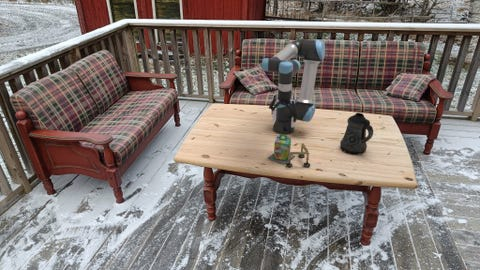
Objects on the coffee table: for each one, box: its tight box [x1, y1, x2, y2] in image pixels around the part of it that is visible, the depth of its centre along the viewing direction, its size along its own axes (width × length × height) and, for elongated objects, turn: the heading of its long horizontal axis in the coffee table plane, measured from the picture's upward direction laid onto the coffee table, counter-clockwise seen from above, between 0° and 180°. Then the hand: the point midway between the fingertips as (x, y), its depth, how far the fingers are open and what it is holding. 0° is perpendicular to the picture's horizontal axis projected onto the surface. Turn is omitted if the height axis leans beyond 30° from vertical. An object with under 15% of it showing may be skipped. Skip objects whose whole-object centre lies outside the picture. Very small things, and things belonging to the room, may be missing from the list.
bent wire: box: [285, 143, 311, 169], centre depth 202 cm, size 12×18×10 cm, turn 139°
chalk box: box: [273, 134, 292, 161], centre depth 207 cm, size 9×9×15 cm
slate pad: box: [267, 152, 296, 166], centre depth 211 cm, size 12×12×1 cm
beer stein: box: [339, 112, 374, 156], centre depth 213 cm, size 16×19×25 cm
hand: (283, 123), depth 200 cm, fingers open, 13 cm apart
